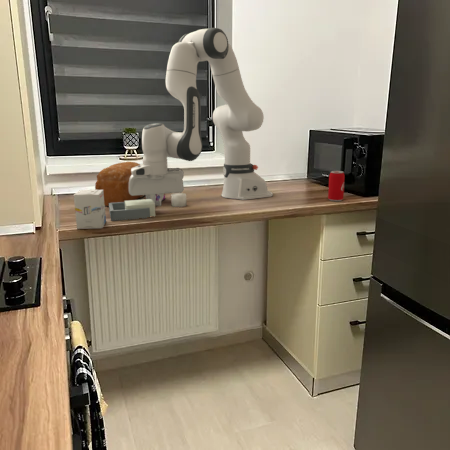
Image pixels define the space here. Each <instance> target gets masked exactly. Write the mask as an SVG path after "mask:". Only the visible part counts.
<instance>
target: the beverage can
mask: <svg viewBox="0 0 450 450" xmlns="http://www.w3.org/2000/svg"><path fill="white" fill-rule="evenodd" d="M345 178H346V177H345V172H344V171H342V170H332V171H330V173H329V176H328V192H327V194H328V195H327V199H328V200H329V201H331V202H341V201H342V200H344V194H345V180H346V179H345Z"/></svg>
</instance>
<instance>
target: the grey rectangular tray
mask: <svg viewBox="0 0 450 450" xmlns="http://www.w3.org/2000/svg"><path fill="white" fill-rule="evenodd" d="M108 211H109V217H110V221H111V222H113V221H114V222H115V221H126V220H128V219H129V220H139V218H142V219H148V218H147V217H150V208H137V209H125V202H116V203H109V206H108ZM150 218H151V217H150Z"/></svg>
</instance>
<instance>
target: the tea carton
mask: <svg viewBox="0 0 450 450" xmlns="http://www.w3.org/2000/svg"><path fill="white" fill-rule="evenodd" d="M137 208H150V216H154V217H156V206H155V204H154V202H153V201H152V199H146V198H145V199H144V198H142V199H137V200H129V201H125V209H137Z"/></svg>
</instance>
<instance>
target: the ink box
mask: <svg viewBox="0 0 450 450" xmlns="http://www.w3.org/2000/svg"><path fill="white" fill-rule="evenodd" d="M73 203H74V211H75V212H74V213H75V223H76V229H77V230H83V229H84V230H85V229H103V228H104V227H105V224H106V222H107V217H106V206H105V204H104V193H103V190H95V189H81V190H78V191H76V192H75V193H74V194H73Z"/></svg>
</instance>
